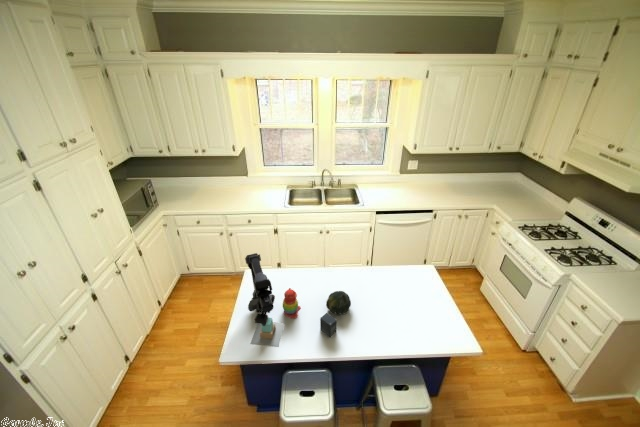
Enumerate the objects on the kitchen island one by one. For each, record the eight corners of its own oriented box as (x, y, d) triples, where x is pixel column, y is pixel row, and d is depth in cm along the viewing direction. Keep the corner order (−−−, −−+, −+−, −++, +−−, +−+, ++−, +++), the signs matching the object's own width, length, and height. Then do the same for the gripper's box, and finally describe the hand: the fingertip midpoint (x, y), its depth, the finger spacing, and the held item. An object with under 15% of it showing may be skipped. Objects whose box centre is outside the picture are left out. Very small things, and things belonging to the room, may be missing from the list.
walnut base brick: (263, 327, 172) (263, 322, 170) (275, 328, 171) (275, 324, 169) (260, 337, 166) (259, 333, 164) (272, 339, 165) (272, 334, 163)
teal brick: (264, 324, 169) (263, 317, 166) (273, 325, 169) (272, 317, 166) (262, 331, 165) (261, 324, 162) (270, 332, 164) (269, 325, 161)
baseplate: (258, 321, 177) (258, 320, 176) (285, 324, 175) (284, 323, 175) (250, 345, 163) (250, 343, 162) (278, 348, 161) (278, 346, 161)
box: (336, 332, 170) (337, 319, 165) (330, 338, 167) (330, 325, 162) (326, 324, 175) (326, 312, 170) (320, 330, 171) (320, 317, 166)
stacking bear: (297, 320, 178) (295, 299, 169) (280, 317, 179) (279, 296, 171) (301, 307, 187) (300, 286, 178) (286, 304, 189) (284, 283, 180)
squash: (320, 296, 187) (329, 293, 174) (340, 289, 194) (350, 286, 181) (328, 319, 184) (337, 317, 171) (348, 311, 190) (358, 309, 177)
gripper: (254, 284, 164) (257, 305, 172) (242, 310, 148) (246, 331, 156) (274, 286, 163) (276, 306, 171) (264, 312, 147) (267, 333, 154)
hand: (266, 319), depth 163 cm, fingers open, 9 cm apart
